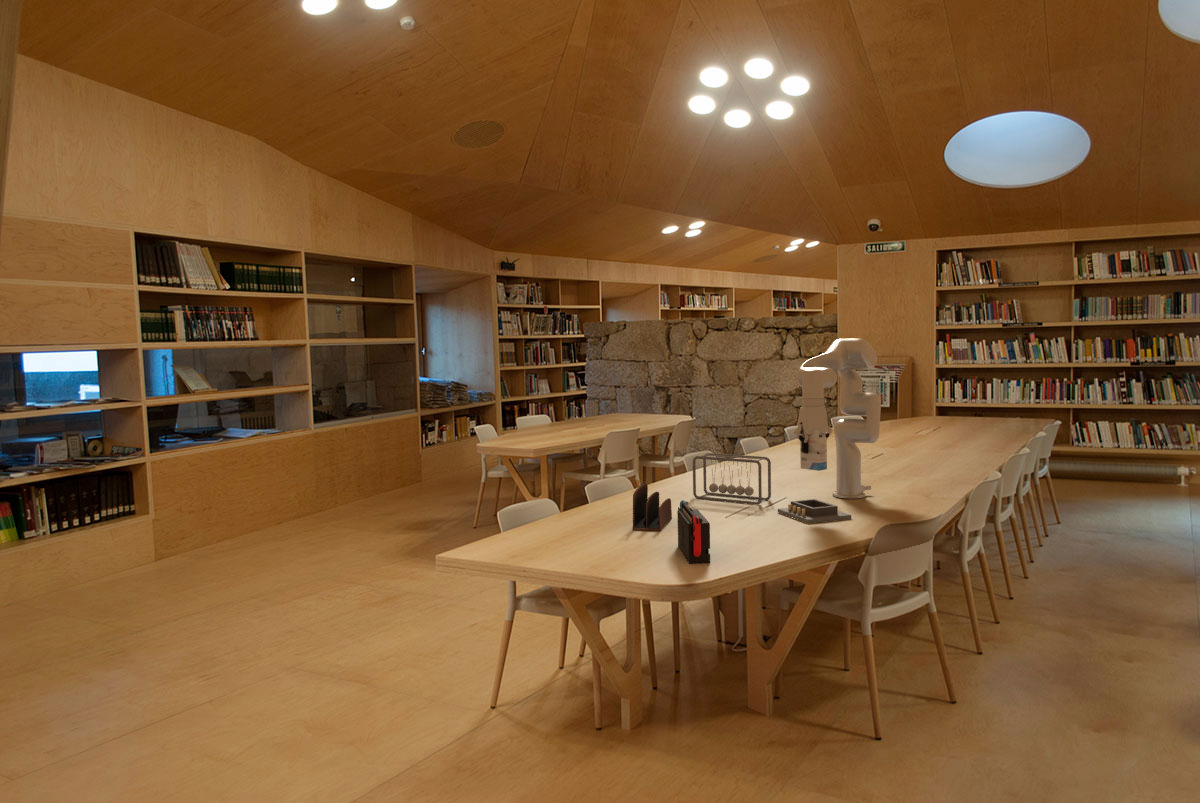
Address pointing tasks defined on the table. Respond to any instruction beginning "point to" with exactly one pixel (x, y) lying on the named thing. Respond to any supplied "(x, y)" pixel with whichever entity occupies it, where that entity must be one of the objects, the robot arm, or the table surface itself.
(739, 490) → the newton's cradle
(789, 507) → the dock board
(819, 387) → the robot arm
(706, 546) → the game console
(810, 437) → the ink box
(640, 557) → the table surface
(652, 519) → the letter holder
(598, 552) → the table surface
